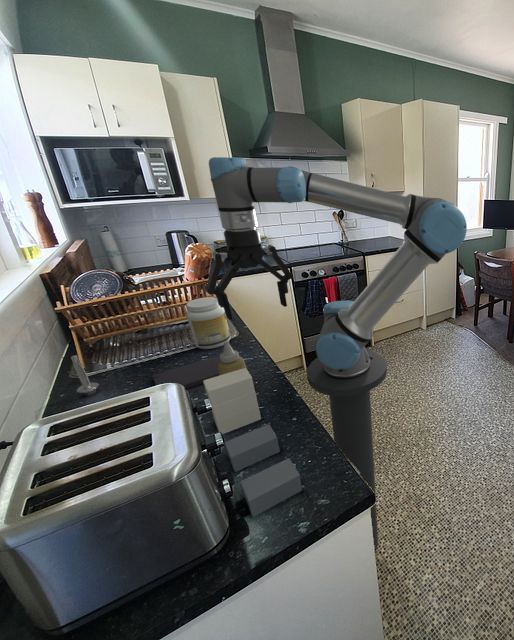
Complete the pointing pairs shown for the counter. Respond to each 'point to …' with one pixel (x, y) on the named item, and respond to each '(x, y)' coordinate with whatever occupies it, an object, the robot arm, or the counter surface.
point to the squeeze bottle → (230, 360)
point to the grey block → (252, 447)
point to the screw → (84, 379)
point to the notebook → (190, 373)
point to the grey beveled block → (271, 486)
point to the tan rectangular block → (229, 386)
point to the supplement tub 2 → (207, 323)
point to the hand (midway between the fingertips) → (258, 311)
